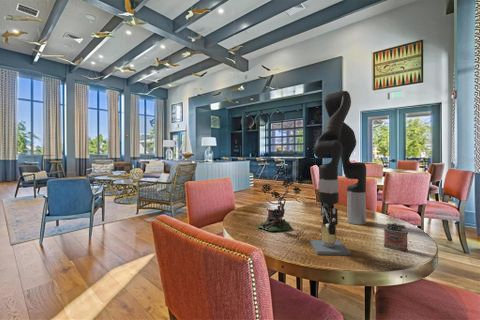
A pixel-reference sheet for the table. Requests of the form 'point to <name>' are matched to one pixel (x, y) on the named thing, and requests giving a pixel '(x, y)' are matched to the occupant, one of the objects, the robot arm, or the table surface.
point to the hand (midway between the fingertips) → (328, 230)
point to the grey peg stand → (329, 247)
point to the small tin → (395, 237)
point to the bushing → (327, 234)
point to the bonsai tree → (276, 216)
